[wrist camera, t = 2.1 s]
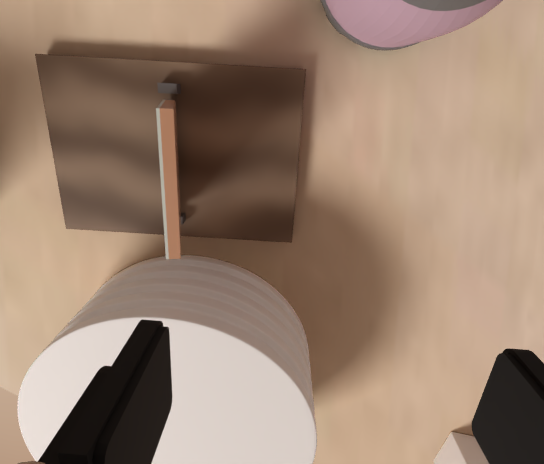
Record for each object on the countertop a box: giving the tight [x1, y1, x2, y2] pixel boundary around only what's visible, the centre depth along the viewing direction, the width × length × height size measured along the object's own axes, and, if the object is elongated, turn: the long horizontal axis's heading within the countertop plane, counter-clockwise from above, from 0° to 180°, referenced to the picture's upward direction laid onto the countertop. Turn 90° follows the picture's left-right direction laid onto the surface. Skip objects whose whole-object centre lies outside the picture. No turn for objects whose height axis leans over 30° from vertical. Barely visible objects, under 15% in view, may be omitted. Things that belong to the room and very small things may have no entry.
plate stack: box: [18, 255, 317, 464], centre depth 39 cm, size 28×28×12 cm
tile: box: [156, 99, 181, 259], centre depth 28 cm, size 10×11×1 cm
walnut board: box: [35, 54, 306, 242], centre depth 34 cm, size 16×23×3 cm
